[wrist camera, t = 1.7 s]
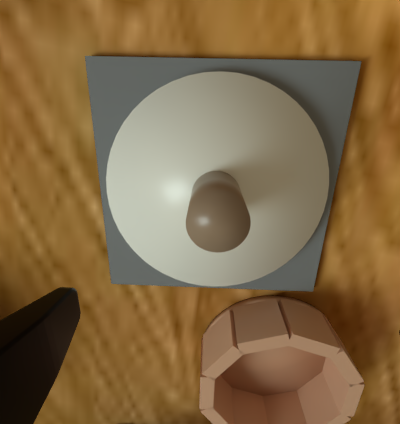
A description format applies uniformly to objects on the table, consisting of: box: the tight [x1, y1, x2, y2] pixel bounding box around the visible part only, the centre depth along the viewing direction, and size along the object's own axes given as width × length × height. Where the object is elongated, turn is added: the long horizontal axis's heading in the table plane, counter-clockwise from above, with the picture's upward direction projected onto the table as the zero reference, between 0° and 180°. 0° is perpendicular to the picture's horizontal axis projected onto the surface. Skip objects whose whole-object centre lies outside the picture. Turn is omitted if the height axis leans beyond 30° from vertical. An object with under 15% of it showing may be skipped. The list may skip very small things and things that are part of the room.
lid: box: [106, 71, 329, 287], centre depth 15 cm, size 14×14×5 cm
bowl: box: [199, 296, 365, 424], centre depth 21 cm, size 11×12×4 cm
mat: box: [85, 56, 361, 291], centre depth 18 cm, size 15×15×1 cm
